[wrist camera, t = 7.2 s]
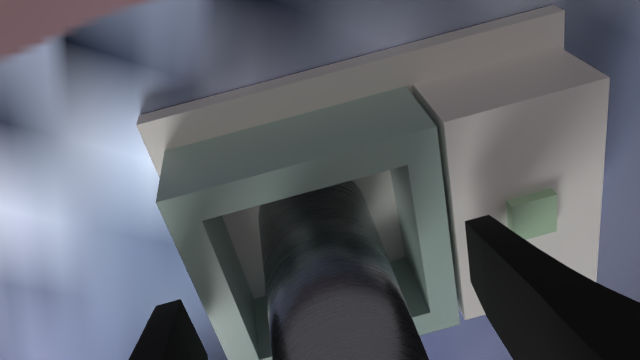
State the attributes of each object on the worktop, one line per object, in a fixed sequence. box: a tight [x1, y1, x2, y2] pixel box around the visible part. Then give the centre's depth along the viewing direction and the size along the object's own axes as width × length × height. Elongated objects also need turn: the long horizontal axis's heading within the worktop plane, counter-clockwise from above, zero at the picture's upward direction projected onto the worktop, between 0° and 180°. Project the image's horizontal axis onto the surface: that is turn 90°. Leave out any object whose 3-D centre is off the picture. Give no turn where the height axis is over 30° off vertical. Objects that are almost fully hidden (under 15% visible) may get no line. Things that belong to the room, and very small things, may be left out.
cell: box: [258, 180, 429, 360], centre depth 14 cm, size 3×3×8 cm
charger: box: [137, 5, 610, 360], centre depth 16 cm, size 11×8×3 cm
